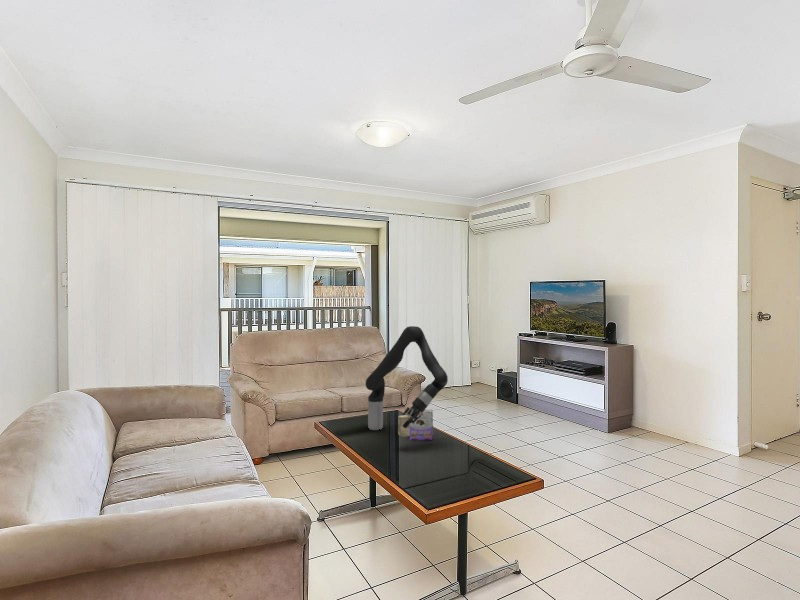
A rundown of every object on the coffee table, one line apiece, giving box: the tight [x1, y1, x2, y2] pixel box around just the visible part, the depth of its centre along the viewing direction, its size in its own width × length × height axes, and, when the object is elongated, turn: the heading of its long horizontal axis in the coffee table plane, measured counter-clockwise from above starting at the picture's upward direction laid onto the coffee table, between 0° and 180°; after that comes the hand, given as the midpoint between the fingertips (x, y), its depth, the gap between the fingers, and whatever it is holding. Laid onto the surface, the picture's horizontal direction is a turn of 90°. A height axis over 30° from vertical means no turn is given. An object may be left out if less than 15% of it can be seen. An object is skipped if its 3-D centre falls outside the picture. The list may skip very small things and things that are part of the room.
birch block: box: [397, 414, 410, 438], centre depth 240 cm, size 5×5×10 cm
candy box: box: [408, 409, 434, 441], centre depth 258 cm, size 14×6×16 cm, turn 84°
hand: (402, 425), depth 239 cm, fingers closed on birch block, 4 cm apart
